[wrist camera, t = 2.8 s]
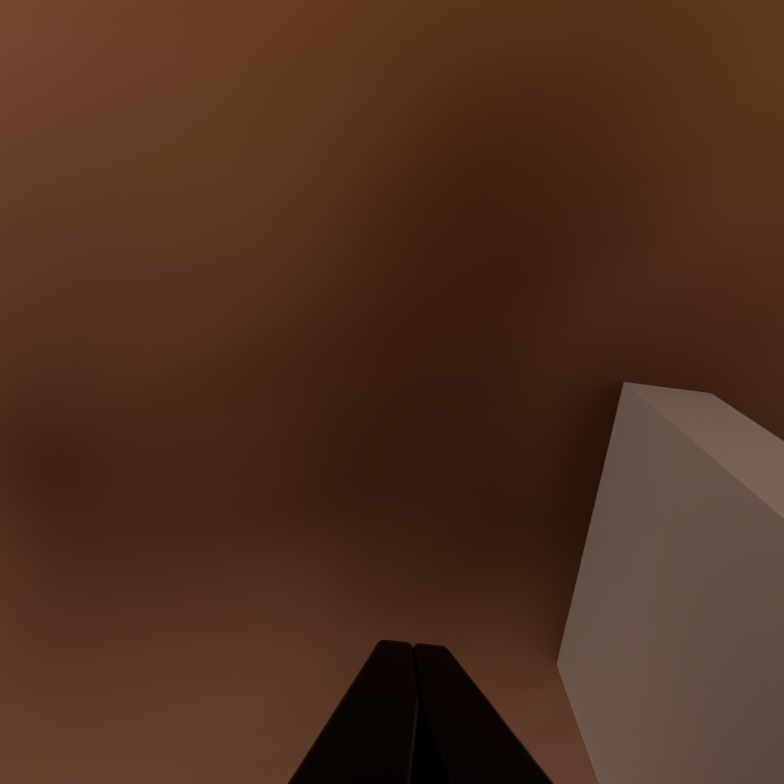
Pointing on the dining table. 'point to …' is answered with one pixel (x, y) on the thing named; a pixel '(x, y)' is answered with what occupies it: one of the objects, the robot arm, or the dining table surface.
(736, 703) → the tile
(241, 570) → the dining table surface
